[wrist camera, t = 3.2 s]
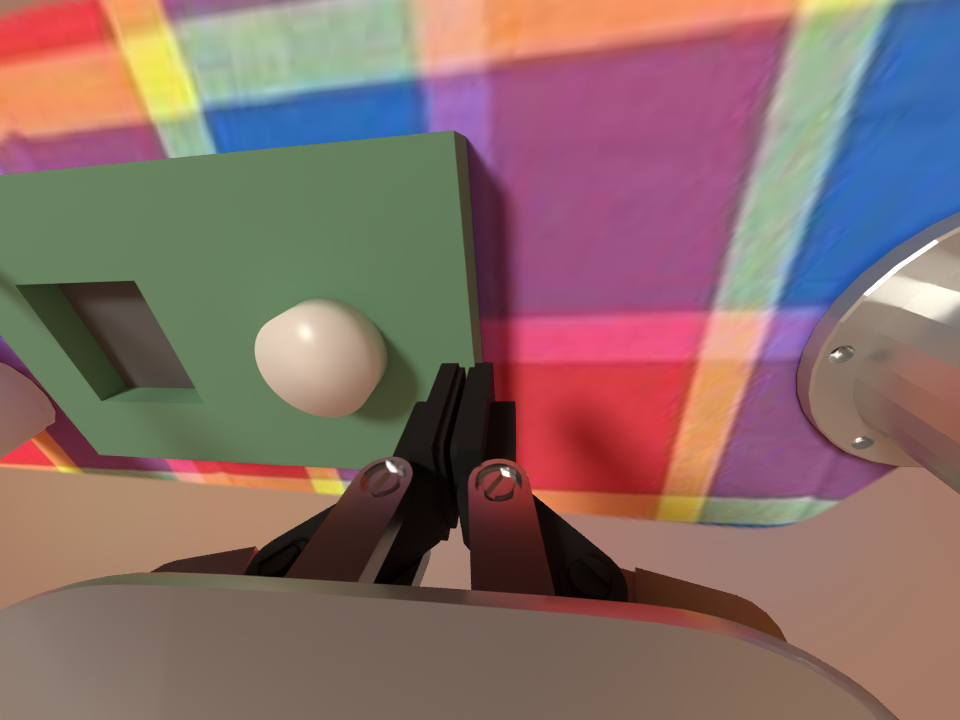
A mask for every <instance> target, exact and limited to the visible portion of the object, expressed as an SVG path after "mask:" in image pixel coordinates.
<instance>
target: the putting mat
mask: <svg viewBox="0 0 960 720" xmlns="http://www.w3.org/2000/svg"><path fill="white" fill-rule="evenodd" d="M316 297H329V298H335V299H339V300H342V301H344V302H347V303H349V304H351V305H353V306H355V307H356V308H358V309H359V310H361V311H362V312H363V313H364V314H366V315H367V316H368V317H369V318H370V319H371V320H372V321H373V322H374V324H375V325H376V326H377V328H378V329H379V331H380V332H381V334H382V336H383V338H384V341H385V343H386V347H387V351H388V364H387V368H386V371H385V373H384V375H383V377H382V378H381V380H380V381H379V383H378V384H377V386H376V387H375V389H374V390H373V391H372V393H371V394H370V396H369V397H368V399H367V400H366V402H365V403H364V404H363V405H362V406H361V407H360V408H359V409H358V410H356V411H355V412H353V413H351V414H348V415H345V416H341V417H321V416H316V415H312V414H309V413H306V412H304V411H301V410H299V409H297V408H295V407H294V406H292V405H290V404H289V403H287V402H286V401H284V400H283V399H282V398H281V397H279V396H278V395H277V394H276V393H275V392H274V391H273V390H272V389H271V387H270V386H269V385H268V384H267V382H266V381H265V379H264V378H263V376H262V374H261V373H260V370H259V368H258V365H257V362H256V358H255V341H256V338H257V335H258V333H259V331H260V330H261V328H262V327H263V326H264V325H265V324H266V323H267V322H269V321H270V320H272V319H273V318H275V317H277V316H278V315H280V314H282V313H283V312H285V311H287V310H289V309H290V308H292V307H294V306H295V305H297V304H299V303H301V302H303V301H305V300H307V299H310V298H316ZM0 335H1V337H2V338H3V339H4V340H5V341H6V343H7V344H8V345H9V346H10V348H11V349H12V350H13V351H14V352H15V354H16V355H17V356H18V357H19V358H20V360H21V361H22V362H23V363H24V364H25V366H26V367H27V368H28V369H29V371H30V372H31V373H32V374H33V375H34V377H35V378H36V379H37V380H38V381H39V383H40V384H41V385H42V386H43V387H44V389H45V390H46V391H47V392H48V393H49V395H50V396H51V397H52V398H53V400H54V401H55V402H56V403H57V404H58V406H59V407H60V408H61V409H62V410H63V412H64V413H65V414H66V415H67V416H68V418H69V419H70V420H71V421H72V422H73V424H74V425H75V426H76V427H77V429H78V430H79V431H80V432H81V433H82V435H83V436H84V437H85V438H86V439H87V441H88V442H89V443H90V444H91V445H92V447H93V448H94V449H95V450H96V452H97V453H98V454H99V455H110V456H128V457H146V458H164V459H182V460H200V461H218V462H237V463H255V464H273V465H291V466H309V467H327V468H345V469H362V468H363V467H365V466H366V465H368V464H369V463H371V462H373V461H375V460H377V459H380V458H384V457H392V456H393V454H394V451H395V449H396V447H397V444H398V442H399V440H400V437H401V435H402V433H403V431H404V428H405V426H406V424H407V421H408V419H409V417H410V415H411V412H412V410H413V408H414V405H415V404H416V402H418V401H427V399H428V396H429V394H430V391H431V389H432V386H433V384H434V381H435V379H436V376H437V373H438V371H439V368H440V366H441V364H442V363H459V366H460V367H465V370H466V378H467V374H468V370H469V367H475V363H483V357H482V343H481V330H480V316H479V303H478V289H477V276H476V262H475V249H474V235H473V222H472V208H471V195H470V181H469V167H468V154H467V140H466V137H465V136H463V135H461V134H459V133H457V132H455V131H444V132H434V133H424V134H414V135H403V136H393V137H383V138H373V139H363V140H353V141H343V142H332V143H322V144H312V145H302V146H292V147H282V148H271V149H261V150H251V151H241V152H231V153H221V154H211V155H200V156H190V157H180V158H170V159H160V160H150V161H140V162H129V163H119V164H109V165H99V166H89V167H79V168H68V169H58V170H48V171H38V172H28V173H18V174H8V175H0Z"/></svg>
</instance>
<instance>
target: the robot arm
mask: <svg viewBox="0 0 960 720" xmlns="http://www.w3.org/2000/svg"><path fill="white" fill-rule="evenodd" d="M797 394H798V397H799V400H800V403H801V406H802V410H803V412H804V413H805V415H806V416H807V417H808V419H809V420H810V422H811V423H812V424H813V426H814V427H815V428H816V429H818V430H819V431H820V432H821V433H822V434H823V435H824V436H825V437H827V438H828V439H829V440H830V441H831V442H832V443H833V444H835V445H836V446H838V447H839V448H841V449H842V450H844V451H845V452H847V453H849V454H852V455H855V456H857V457H860V458H863V459H866V460H869V461H872V462H877V463H882V464H888V465H894V466H904V467H924V468H926V469H927V470H928V471H930V472H931V473H932V474H934V475H935V476H936V477H938V478H939V479H940V480H942V481H943V482H944V483H946V484H947V485H948V486H950V487H951V488H952V489H954V490H955V491H956V492H957V493H959V494H960V212H957V213H955V214H953V215H951V216H949V217H947V218H945V219H943V220H941V221H939V222H936V223H934V224H932V225H931V226H929V227H928V228H926V229H924V230H923V231H921V232H919V233H918V234H916V235H915V236H913V237H911V238H910V239H908V240H907V241H905V242H903V243H902V244H900V245H898V246H897V247H895V248H894V249H892V250H891V251H890V252H889V253H887V254H886V255H885V256H883V257H882V258H881V259H880V260H878V261H877V262H876V263H875V264H873V265H872V266H871V267H869V268H868V269H867V270H866V271H864V272H863V273H862V274H861V275H860V276H859V277H858V278H857V279H856V280H855V281H854V282H853V283H852V284H851V285H850V286H849V287H848V288H847V289H846V290H845V291H844V292H843V293H842V294H841V295H840V296H839V297H838V298H837V299H836V300H835V301H834V302H833V303H832V305H831V306H830V308H829V309H828V310H827V312H826V313H825V314H824V316H823V317H822V318H821V320H820V321H819V322H818V324H817V325H816V326H815V328H814V330H813V332H812V334H811V336H810V338H809V340H808V342H807V344H806V346H805V348H804V350H803V353H802V357H801V361H800V365H799V369H798V372H797ZM459 517H460V523H461V528H462V535H463V542H464V544H465V545H466V546H467V548H468V549H469V550H470V566H471V590H462V589H447V588H433V587H420V584H421V581H422V579H423V576H424V573H425V571H426V568H427V565H428V563H429V559H430V555H431V551H430V549H431V548H433V547H434V546H435V545H436V544H438V543H439V542H440V540H445V541H447V540H448V538H449V533H450V528H456V527H457V523H458V518H459ZM0 720H899V719H898V718H897V717H896V716H895V715H894V714H893V713H892V712H890V711H889V710H888V709H887V708H886V707H885V706H884V705H883V704H882V703H881V702H880V701H879V700H878V699H877V698H875V697H874V696H873V695H872V694H871V693H869V692H868V691H867V690H865V689H864V688H863V687H862V686H860V685H859V684H858V683H856V682H855V681H853V680H852V679H850V678H849V677H848V676H846V675H845V674H843V673H841V672H840V671H838V670H837V669H835V668H833V667H832V666H830V665H828V664H827V663H825V662H823V661H821V660H820V659H818V658H816V657H814V656H813V655H811V654H809V653H807V652H805V651H803V650H801V649H799V648H797V647H795V646H793V645H791V644H789V643H787V641H786V639H785V637H784V635H783V633H782V631H781V629H780V628H779V627H778V625H777V624H776V623H775V622H774V621H773V620H772V619H771V617H770V616H769V615H768V614H767V613H766V612H764V611H763V610H762V609H760V608H759V607H758V606H756V605H755V604H754V603H752V602H751V601H748V600H746V599H743V598H741V597H739V596H737V595H733V594H730V593H726V592H723V591H719V590H715V589H712V588H708V587H705V586H701V585H697V584H694V583H690V582H687V581H683V580H679V579H676V578H672V577H669V576H665V575H661V574H658V573H654V572H651V571H647V570H643V569H639V568H635V571H634V572H633V571H629V570H625V569H621V568H619V567H618V566H617V565H616V564H615V563H614V562H613V561H612V559H611V558H610V557H608V556H607V555H606V554H605V553H604V552H602V551H601V550H600V549H599V548H598V547H596V546H595V545H594V544H592V543H591V542H590V541H589V540H588V539H587V538H585V537H584V536H583V535H582V534H581V533H579V532H578V531H577V530H576V529H574V528H573V527H572V526H571V525H570V524H568V523H567V522H566V521H565V520H563V519H562V518H561V517H560V516H559V515H557V514H556V513H555V512H554V511H553V510H551V509H550V508H549V507H548V506H546V505H545V504H544V503H543V502H542V501H540V500H539V499H538V498H537V497H536V496H534V495H533V494H532V491H531V486H530V482H529V478H528V476H527V473H526V471H525V470H524V469H523V468H522V467H521V466H520V465H518V464H517V463H516V408H515V401H495V395H494V378H493V364H492V363H475V367H469V370H468V374H467V378H466V370H465V367H460V366H459V363H442V364H441V366H440V368H439V371H438V373H437V376H436V379H435V381H434V384H433V386H432V389H431V391H430V394H429V396H428V399H427V401H418V402H416V404H415V405H414V408H413V410H412V412H411V415H410V417H409V419H408V421H407V424H406V426H405V428H404V431H403V433H402V435H401V437H400V440H399V442H398V444H397V447H396V449H395V451H394V454H393V456H392V457H384V458H380V459H377V460H375V461H373V462H371V463H369V464H368V465H366V466H365V467H363V468H362V470H361V471H360V472H359V473H358V474H357V475H356V477H355V478H354V480H353V481H352V482H351V484H350V485H349V487H348V488H347V489H346V491H345V492H344V494H343V495H342V496H341V498H340V499H339V501H338V502H337V503H336V504H334V505H333V506H331V507H329V508H327V509H326V510H324V511H322V512H321V513H319V514H317V515H316V516H314V517H312V518H310V519H309V520H307V521H305V522H304V523H302V524H300V525H298V526H297V527H295V528H293V529H291V530H290V531H288V532H286V533H285V534H283V535H281V536H279V537H278V538H276V539H274V540H273V541H271V542H270V543H268V544H267V545H266V546H264V547H263V548H262V549H261V550H260V551H259V550H258V549H257V548H256V546H255V547H249V548H244V549H238V550H232V551H227V552H221V553H215V554H210V555H204V556H198V557H192V558H187V559H181V560H176V561H172V562H169V563H167V564H164V565H162V566H160V567H158V568H157V569H155V570H153V571H151V572H149V573H131V574H122V575H114V576H107V577H101V578H96V579H91V580H86V581H81V582H77V583H73V584H70V585H67V586H63V587H60V588H56V589H53V590H49V591H46V592H43V593H40V594H37V595H35V596H32V597H29V598H27V599H24V600H22V601H20V602H17V603H15V604H13V605H10V606H8V607H6V608H4V609H1V610H0Z"/></svg>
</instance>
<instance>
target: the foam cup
mask: <svg viewBox="0 0 960 720" xmlns="http://www.w3.org/2000/svg"><path fill="white" fill-rule="evenodd" d="M55 414H56V411H55V409H54V408H53V406H52V404H51V402H50V401H49V399H48V397H47V396H46V395H45V394H44V393H43V392H42V391H41V390H40V389H39V388H38V387H37V386H36V385H35V384H34V383H33V382H32V381H31V380H30V379H28V378H27V377H25V376H24V375H23V374H21V373H20V372H18V371H17V370H15V369H14V368H12V367H11V366H9V365H6V364H4V363H1V362H0V459H2V458H3V457H5V456H6V455H8V454H9V453H11V452H12V451H14V450H15V449H17V448H18V447H19V446H21V445H22V444H24V443H25V442H27V441H28V440H30V439H31V438H33V437H34V436H36V435H37V434H39V433H40V432H42V431H43V430H45V429H46V427H48V426H49V425H51V424H53V423H55Z"/></svg>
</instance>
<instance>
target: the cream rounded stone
mask: <svg viewBox="0 0 960 720" xmlns="http://www.w3.org/2000/svg"><path fill="white" fill-rule="evenodd" d="M255 358H256V362H257V365H258V368H259V370H260V373H261V374H262V376H263V378H264V379H265V381H266V382H267V384H268V385H269V386H270V387H271V389H272V390H273V391H274V392H275V393H276V394H277V395H278V396H279V397H281V398H282V399H283V400H284V401H286V402H287V403H289V404H290V405H292V406H294V407H295V408H297V409H299V410H301V411H304V412H306V413H309V414H312V415H316V416H321V417H341V416H345V415H348V414H351V413H353V412H355V411H356V410H358V409H359V408H360V407H361V406H362V405H363V404H364V403H365V402H366V400H367V399H368V397H369V396H370V394H371V393H372V391H373V390H374V389H375V387H376V386H377V384H378V383H379V381H380V380H381V378H382V377H383V375H384V373H385V371H386V368H387V364H388V351H387V347H386V343H385V341H384V338H383V336H382V334H381V332H380V331H379V329H378V328H377V326H376V325H375V324H374V322H373V321H372V320H371V319H370V318H369V317H368V316H367V315H366V314H364V313H363V312H362V311H361V310H359V309H358V308H356V307H355V306H353V305H351V304H349V303H347V302H344V301H342V300H339V299H335V298H329V297H316V298H310V299H307V300H305V301H303V302H301V303H299V304H297V305H295V306H294V307H292V308H290V309H289V310H287V311H285V312H283V313H282V314H280V315H278V316H277V317H275V318H273V319H272V320H270V321H269V322H267V323H266V324H265V325H264V326H263V327H262V328H261V330H260V331H259V333H258V335H257V338H256V341H255Z"/></svg>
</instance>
